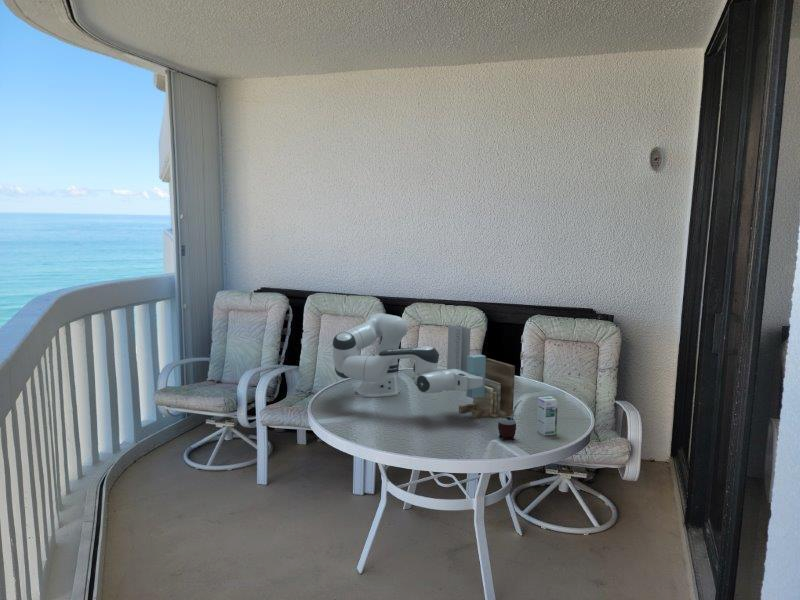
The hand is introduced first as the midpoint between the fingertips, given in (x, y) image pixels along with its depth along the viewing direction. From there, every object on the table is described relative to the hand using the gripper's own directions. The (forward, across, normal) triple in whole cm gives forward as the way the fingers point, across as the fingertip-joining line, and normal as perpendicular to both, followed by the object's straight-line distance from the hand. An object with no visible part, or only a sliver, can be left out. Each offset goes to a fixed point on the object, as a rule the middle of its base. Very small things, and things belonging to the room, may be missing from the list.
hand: (477, 375), depth 253 cm
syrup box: (+9, +34, -17) cm, 39 cm away
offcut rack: (+4, 0, -17) cm, 18 cm away
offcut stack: (+6, -1, -16) cm, 18 cm away
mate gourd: (-9, +30, -17) cm, 36 cm away
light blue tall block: (-1, 0, -9) cm, 9 cm away
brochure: (+29, -51, -18) cm, 62 cm away
